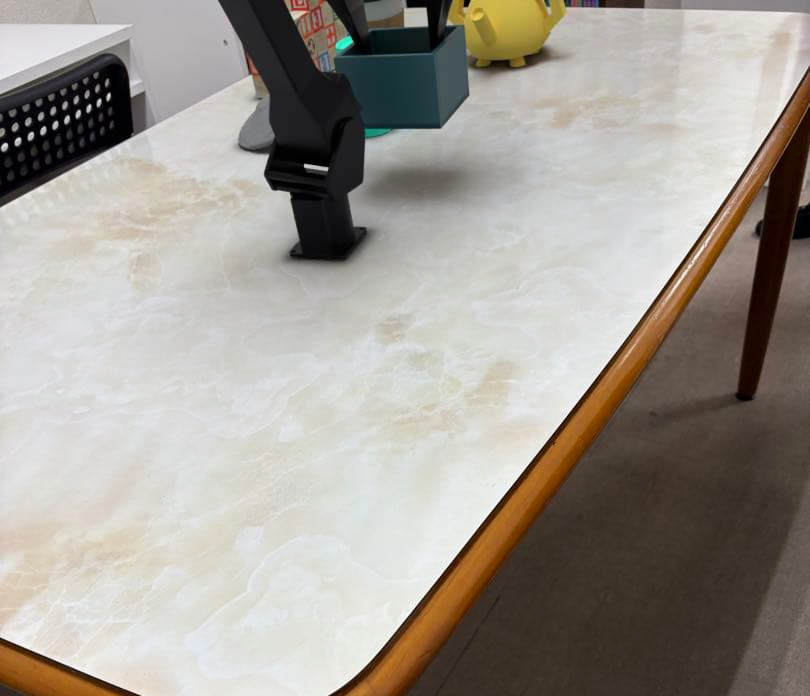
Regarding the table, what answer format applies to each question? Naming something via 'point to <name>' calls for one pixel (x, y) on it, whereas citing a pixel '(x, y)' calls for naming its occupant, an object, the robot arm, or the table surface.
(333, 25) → the stack of blocks
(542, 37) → the teapot
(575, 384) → the table surface
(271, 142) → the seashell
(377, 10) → the coffee cup
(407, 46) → the open box
